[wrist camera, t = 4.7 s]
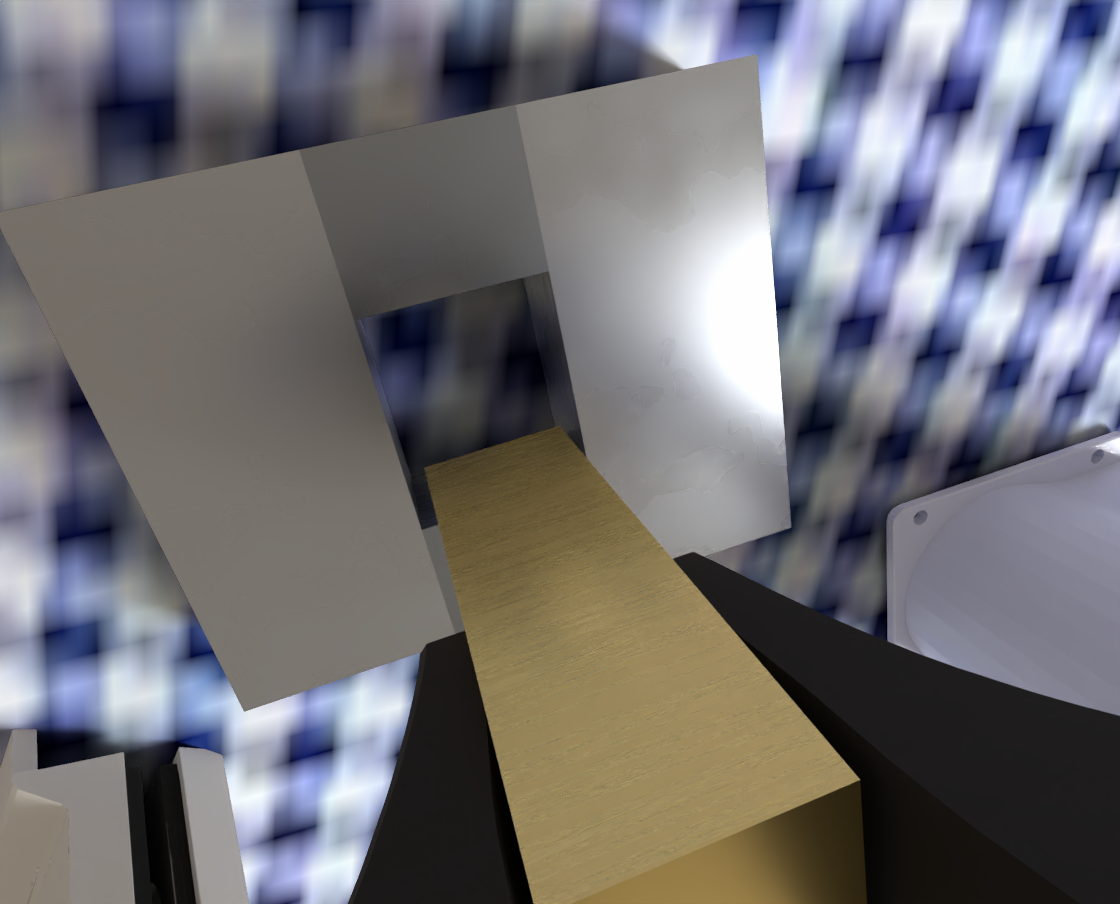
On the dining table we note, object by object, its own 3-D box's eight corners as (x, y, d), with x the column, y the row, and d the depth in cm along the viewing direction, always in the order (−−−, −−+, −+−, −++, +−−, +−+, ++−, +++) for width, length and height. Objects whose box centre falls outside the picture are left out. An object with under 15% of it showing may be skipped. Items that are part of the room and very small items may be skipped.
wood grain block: (559, 425, 12) (860, 779, 5) (594, 576, 13) (873, 1032, 6) (423, 467, 12) (536, 917, 5) (473, 619, 13) (623, 1157, 6)
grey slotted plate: (691, 74, 17) (757, 54, 14) (735, 482, 21) (791, 527, 18) (61, 207, 14) (-8, 213, 12) (260, 634, 19) (244, 711, 16)
